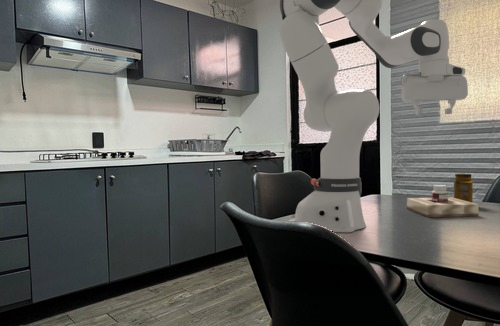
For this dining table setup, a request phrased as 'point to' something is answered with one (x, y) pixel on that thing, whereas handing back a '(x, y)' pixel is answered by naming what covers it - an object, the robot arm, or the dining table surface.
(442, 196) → the pill bottle
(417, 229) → the dining table surface
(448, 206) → the well block
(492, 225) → the dining table surface
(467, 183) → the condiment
